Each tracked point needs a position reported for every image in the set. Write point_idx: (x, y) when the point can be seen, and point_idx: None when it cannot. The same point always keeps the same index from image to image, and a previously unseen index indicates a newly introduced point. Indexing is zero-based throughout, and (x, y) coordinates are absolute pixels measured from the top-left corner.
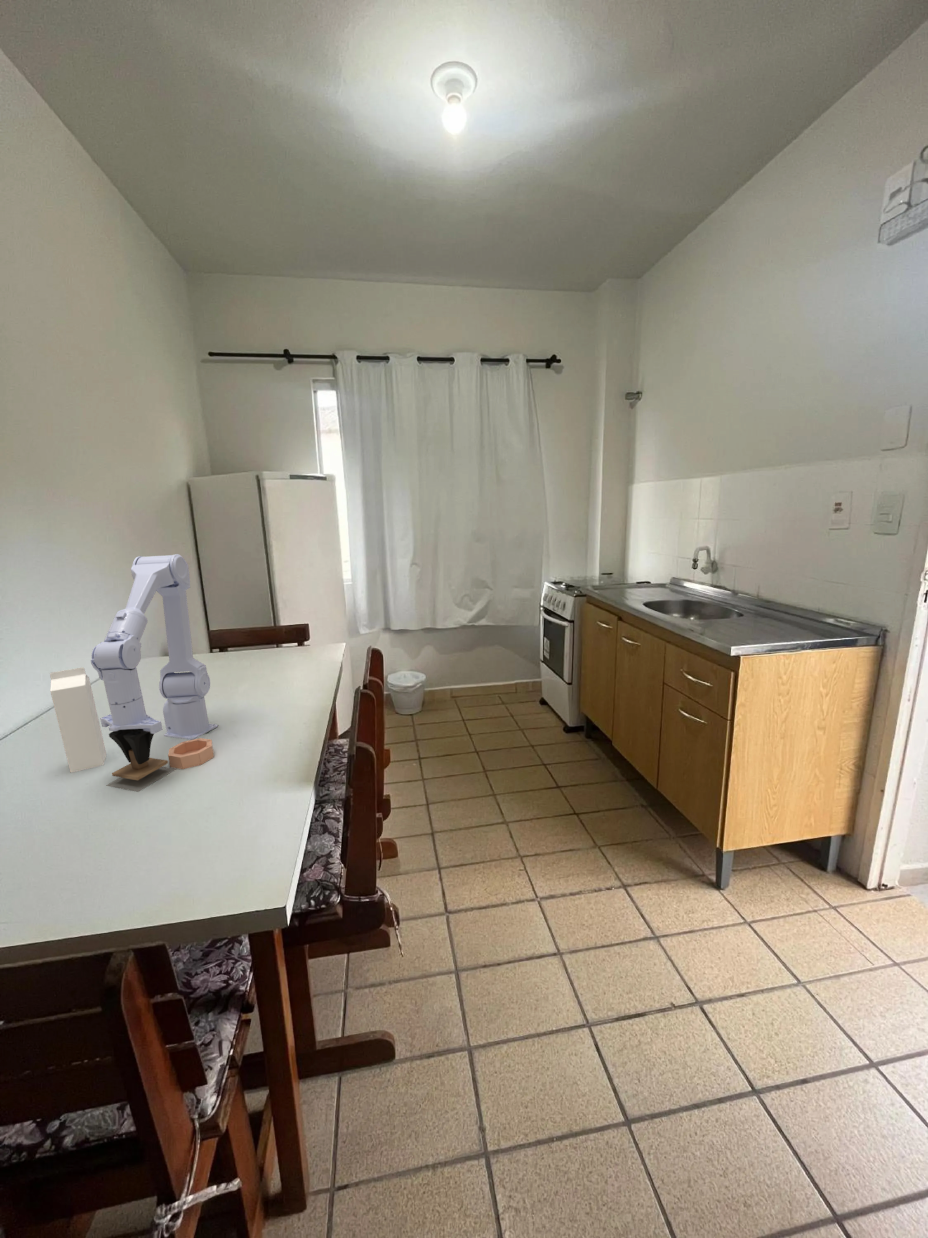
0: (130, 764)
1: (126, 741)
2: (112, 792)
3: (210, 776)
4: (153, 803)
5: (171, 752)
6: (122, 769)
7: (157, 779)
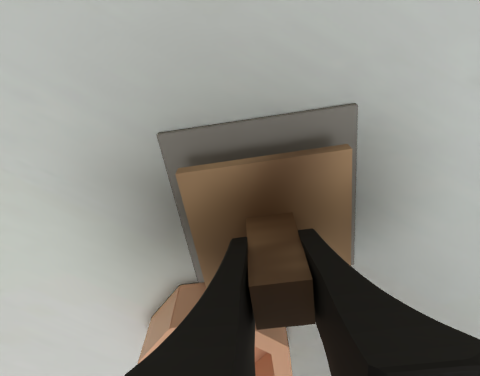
0: (340, 229)
1: (337, 338)
2: (277, 89)
3: (50, 294)
4: (10, 112)
5: None
6: (331, 190)
7: (186, 219)
